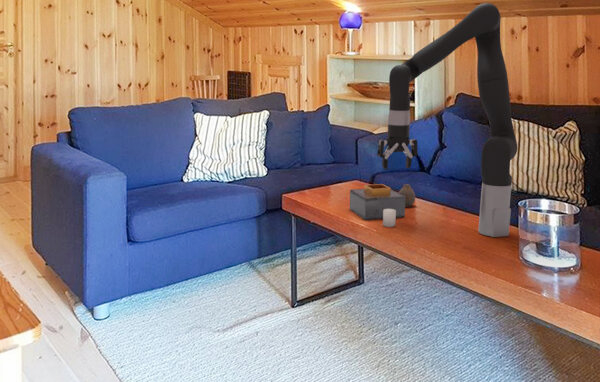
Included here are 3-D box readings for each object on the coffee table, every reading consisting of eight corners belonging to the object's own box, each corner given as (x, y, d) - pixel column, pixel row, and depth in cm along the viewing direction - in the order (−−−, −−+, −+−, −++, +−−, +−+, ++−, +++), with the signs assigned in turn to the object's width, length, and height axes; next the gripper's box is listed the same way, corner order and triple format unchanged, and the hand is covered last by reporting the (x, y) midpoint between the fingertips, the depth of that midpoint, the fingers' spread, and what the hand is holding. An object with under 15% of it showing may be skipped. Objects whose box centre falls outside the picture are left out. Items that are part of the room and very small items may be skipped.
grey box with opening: (404, 217, 201) (405, 189, 199) (364, 220, 197) (365, 192, 195) (383, 204, 220) (384, 179, 217) (346, 207, 215) (347, 181, 213)
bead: (397, 226, 190) (398, 211, 188) (385, 227, 188) (386, 212, 187) (392, 222, 194) (392, 208, 193) (380, 223, 193) (381, 209, 191)
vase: (413, 204, 220) (414, 183, 218) (415, 208, 214) (416, 187, 212) (396, 203, 221) (397, 182, 219) (398, 207, 214) (399, 186, 212)
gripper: (383, 124, 182) (381, 171, 186) (422, 124, 186) (419, 169, 189) (375, 122, 189) (374, 167, 193) (412, 121, 193) (410, 166, 196)
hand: (396, 168), depth 191 cm, fingers open, 8 cm apart
